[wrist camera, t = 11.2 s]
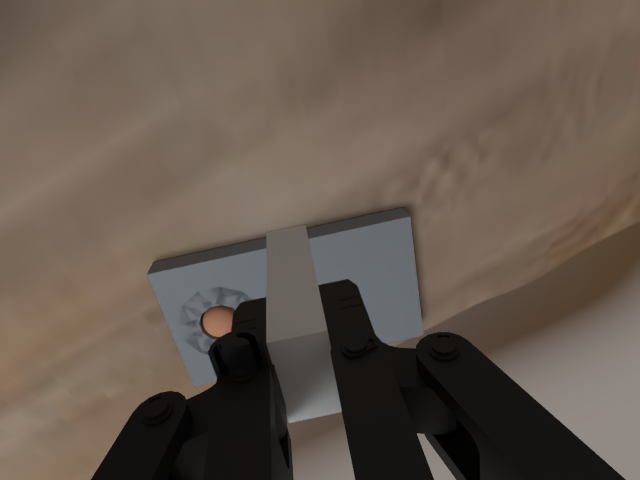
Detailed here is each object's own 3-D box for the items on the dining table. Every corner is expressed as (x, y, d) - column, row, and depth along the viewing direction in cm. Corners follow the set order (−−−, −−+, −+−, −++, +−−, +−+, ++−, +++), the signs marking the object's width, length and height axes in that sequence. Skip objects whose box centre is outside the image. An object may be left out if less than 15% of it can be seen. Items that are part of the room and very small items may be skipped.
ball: (248, 327, 44) (226, 329, 46) (237, 296, 44) (215, 299, 46) (224, 342, 42) (202, 343, 44) (212, 309, 41) (191, 312, 43)
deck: (197, 370, 48) (194, 386, 46) (153, 262, 42) (146, 274, 40) (416, 321, 48) (423, 335, 46) (402, 207, 42) (410, 216, 40)
